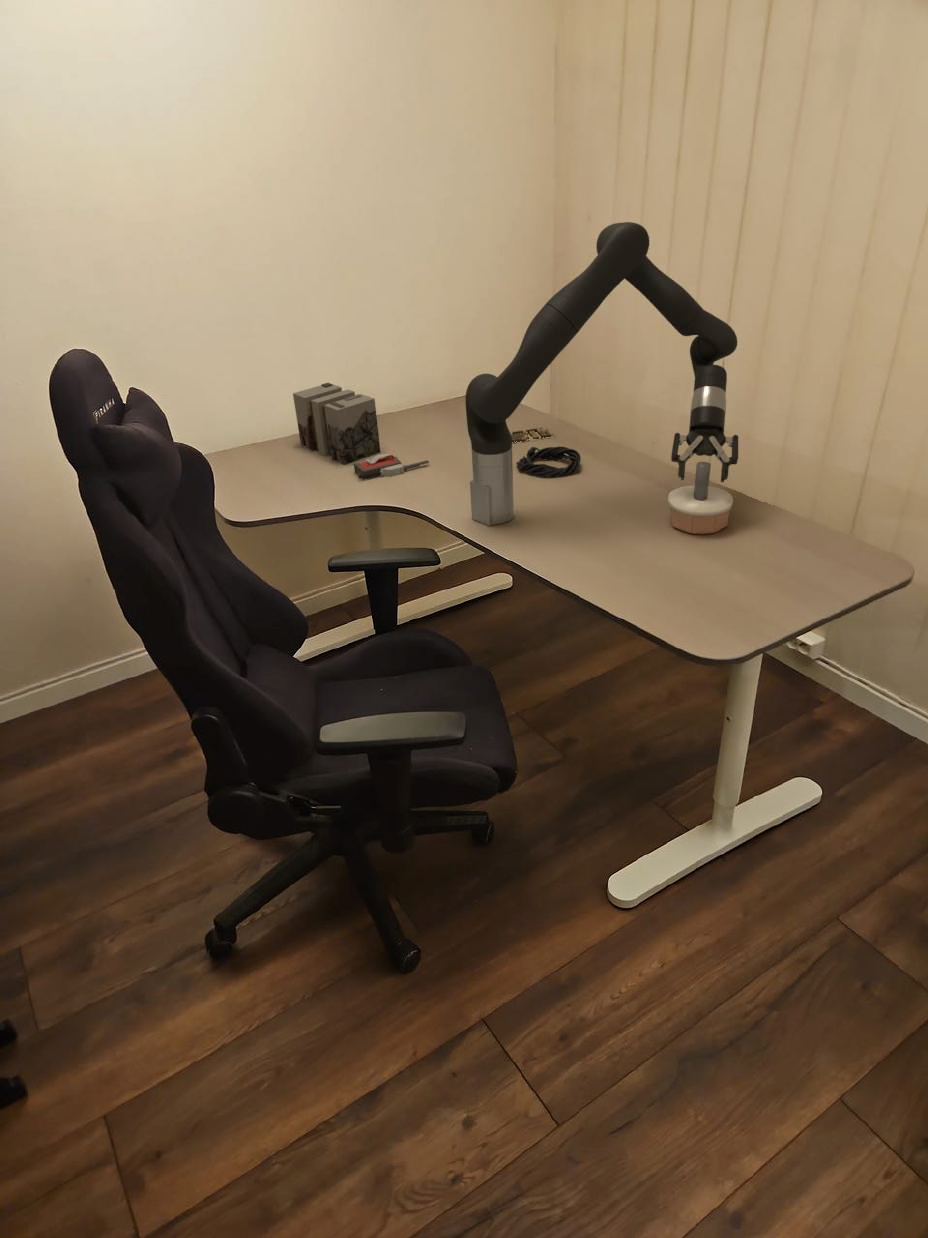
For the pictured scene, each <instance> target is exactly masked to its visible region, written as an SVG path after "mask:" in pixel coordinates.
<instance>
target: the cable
mask: <svg viewBox="0 0 928 1238" xmlns="http://www.w3.org/2000/svg"><path fill="white" fill-rule="evenodd" d="M537 458H541V459H540V460H542V459H547V460H546V461H549V460H554V461H558V460H560V461H566V460H569V461H570V462H569V464H568V465H567V466H566V467H560V468H559V467H555V466H552V465H549V464H546V463H537V464H536V463H534V462H532V461H535V460H536V459H537ZM537 460H538V459H537ZM580 465H581V455H580V453H579V451H578V450H576V449H573V448H569V447H566V446H559V445H558V446H551V447H549V446H548V447H544V448H541V449H539V448H538V447H535V446H531V447H530V448H529V449H528V450H527V454H524V455H523V456H522V458H520V459H519V461H516V467H517V470H518V471H522V472H525V473H531V474H533V475H536V476H537V477H543V478H545V477H549V476H551V478H556V477H563V476H568V475H575V474H576V473H577V472H578V471H579V470H580Z"/></svg>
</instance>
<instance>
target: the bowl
mask: <svg viewBox="0 0 928 1238" xmlns="http://www.w3.org/2000/svg"><path fill="white" fill-rule="evenodd" d="M729 513H730V510H728V511H727V512H725V513H722V514H719V515H714V516H693V515H687V514H683V513H680V512H678V511H676V510H674V509H672V508H671V507H670V515H669V518H670V521H671V525H672V527H673V528H676V529H678V530H680V531H682V532H685V533H689V534H692V535H693V534H694V535H707V534H714V533H717V532H718V531H721V530H722V529H724V528H726V527H727V526H728V524H729Z"/></svg>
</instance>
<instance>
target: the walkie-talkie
mask: <svg viewBox="0 0 928 1238" xmlns="http://www.w3.org/2000/svg"><path fill="white" fill-rule="evenodd" d="M429 463H430V461H429V460H428V459H427V460H423V461H419V462H415V463H412V464H407V465H406V464H405V465H403V464H402V461H401V460H400V459H398V457H397V456H394V455H393V454H391V453H390V452H385V453H381V454H378V455H377V454H376V455H375V456H374V457H373V458H372V459H369V458H365V461H361V462H357V463H354V464H353V469H354V474H355V475H356V476H357V477H358V479H359V480H365V481H367V480H371V479H373V478H374V479H375V478H378V477H393V476H397V474H398V475H402V474H404V473H405V471H407V470H410V469H413V468H419V467H420V466H421V465H426V464H429Z"/></svg>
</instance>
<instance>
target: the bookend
mask: <svg viewBox="0 0 928 1238" xmlns="http://www.w3.org/2000/svg"><path fill="white" fill-rule="evenodd" d="M292 398H293V403H294V404H293V405H294V410H295V416H296V422H297V428H298V435H299V439H300V441H299V443H300V446H301V445H302V446H301V447H303V446H307V447H306V448H308V447H309V450H310V451H311V452H314V451H318V450H319V451H318V454H319V455H321V456H323V457H328V456H329V457H331V460H332V461H338V462H340V463H341V464H342V465H343V466H346V465H350V464H352V463H355V462H357V461H360V460H364V459H367V458H369V457H372V456H374V455H375V456H376V455H377V454H378V455H379V454H380V453H381V445H380V435H379V427H378V417H377V408H376V400H375V399H376V398H374V397H371V396H368V395H365V394H362V393H359V394H356V393H355V391H354V390H350V389H345V390H343V389H342V386H339V385H336V384H333V383H329V382H325V383H322V384H321V385H318V386H317V385H316V386H314V387H311V388H307V389H304V390H301V391H297V392H293V393H292Z"/></svg>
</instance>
